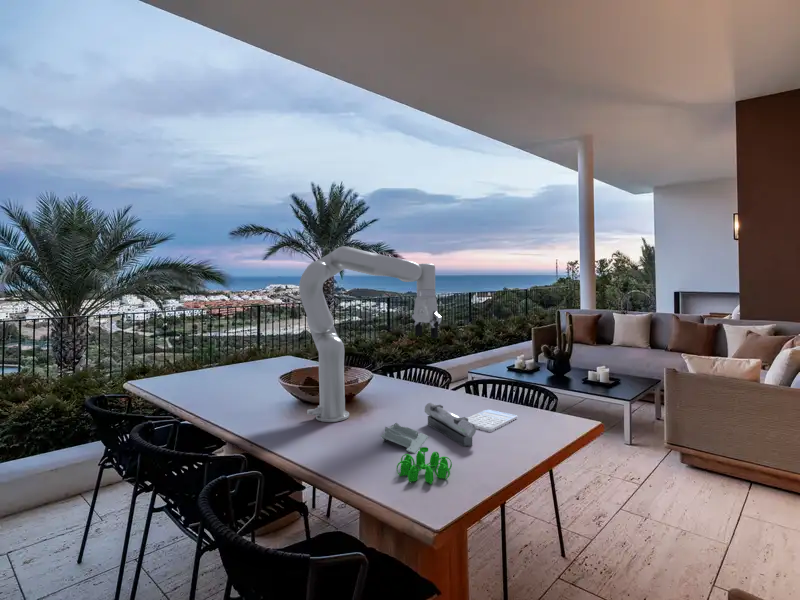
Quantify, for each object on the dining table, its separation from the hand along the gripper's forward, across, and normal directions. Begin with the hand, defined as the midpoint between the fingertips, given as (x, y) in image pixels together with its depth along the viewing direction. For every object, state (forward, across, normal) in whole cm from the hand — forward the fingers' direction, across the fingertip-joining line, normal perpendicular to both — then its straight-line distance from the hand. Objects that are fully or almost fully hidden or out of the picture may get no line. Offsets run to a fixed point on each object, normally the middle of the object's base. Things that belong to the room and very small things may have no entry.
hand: (426, 336), depth 174 cm
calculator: (+30, +28, +6) cm, 41 cm away
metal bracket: (+30, +24, -31) cm, 50 cm away
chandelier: (+30, +46, -40) cm, 68 cm away
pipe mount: (+29, +28, -15) cm, 43 cm away
